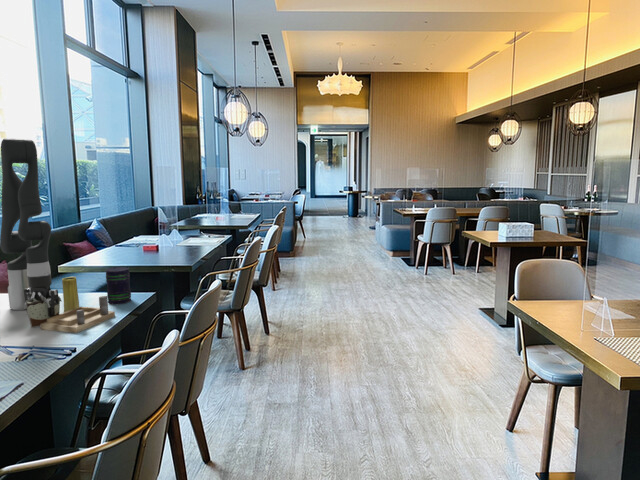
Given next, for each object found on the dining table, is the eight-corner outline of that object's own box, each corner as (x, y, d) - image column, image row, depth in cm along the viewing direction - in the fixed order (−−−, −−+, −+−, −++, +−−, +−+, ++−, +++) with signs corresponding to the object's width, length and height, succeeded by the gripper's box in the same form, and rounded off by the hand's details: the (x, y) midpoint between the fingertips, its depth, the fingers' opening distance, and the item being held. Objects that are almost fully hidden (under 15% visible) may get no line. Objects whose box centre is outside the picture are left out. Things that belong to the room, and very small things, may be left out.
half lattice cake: (58, 317, 181) (56, 293, 179) (63, 321, 176) (61, 296, 175) (22, 325, 172) (20, 299, 171) (26, 328, 168) (24, 302, 166)
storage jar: (135, 301, 204) (133, 268, 202) (113, 305, 197) (111, 272, 195) (125, 297, 211) (123, 265, 208) (103, 301, 203) (101, 269, 201)
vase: (83, 309, 192) (80, 276, 189) (74, 314, 185) (71, 280, 183) (69, 309, 192) (67, 276, 190) (60, 313, 186) (57, 279, 184)
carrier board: (40, 329, 167) (38, 305, 166) (82, 313, 186) (80, 292, 185) (76, 332, 163) (74, 308, 162) (114, 316, 182) (113, 294, 181)
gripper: (15, 275, 170) (19, 317, 172) (46, 276, 166) (50, 319, 168) (32, 271, 177) (36, 311, 179) (62, 272, 173) (66, 314, 175)
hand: (43, 315), depth 173 cm, fingers closed on half lattice cake, 7 cm apart
